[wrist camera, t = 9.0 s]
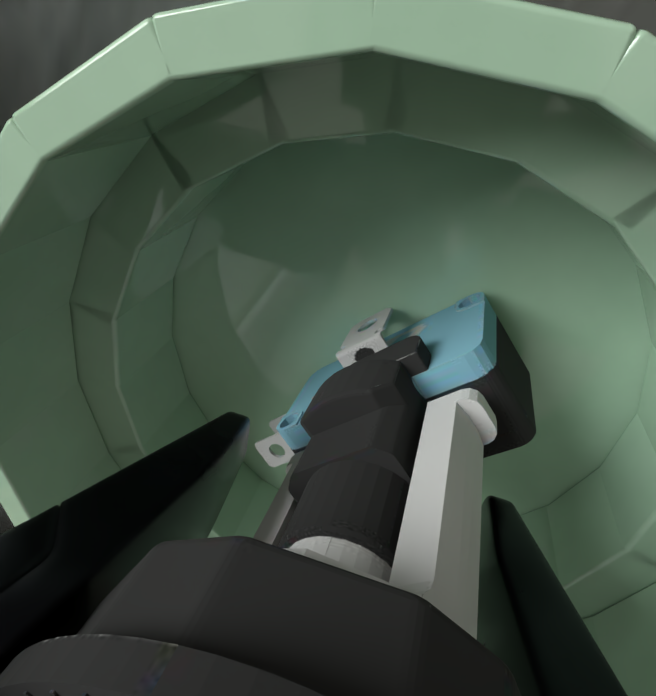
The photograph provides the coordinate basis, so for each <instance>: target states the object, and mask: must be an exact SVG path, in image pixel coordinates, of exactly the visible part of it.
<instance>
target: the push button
mask: <svg viewBox="0 0 656 696" xmlns="http://www.w3.org/2000/svg"><path fill="white" fill-rule="evenodd" d="M392 313H393V309H392V308H386V309H384V310H382V311H380V312H378V313H376V314H374V315H372V316H370V317H368V318H366V319H364V320H362V321H360V322H359V323H357V324H356V325H355V326H353V327H352V328H351V330H350V331H349V333H348V335H347V336H346V338H345V340H344V341H343V343H342V345H341V347H340V349H341V350H340V351H338V352H337V353H336V357H337V359H338V360H337V361H335V362H333V363H331V364H329V365H327V366H325V367H323V368H321V369H319V370H317V371H316V372H315V373H314V374H312V375H311V376H310V378H309V379H308V380H307V382H306V383H305V385H304V387H303V388H302V390H301V391H300V393H299V395H298V396H297V398H296V399H295V401H294V402H293V404H292V406H291V407H290V409H289V410H288V412H287V414H284V415H282V416H280V417H278V418H275V419H273V420H271V421H270V423H269V426H270V427H271V429H272V430H273V431H274V433H275V434H274V435H272V436H269V437H267V438H264V439H262V440H260V441H257V442H256V443H255V448H256V449H257V451H258V452H259V453H260V454H261V456H262V457H263V458H264V460H265V461H266V462H267V463H268V465H269V466H271V467H276V466H279V465H281V464H284V463H287V462H289V463H288V465H287V467H286V471H285V472H286V477H285V479H284V481H283V483H282V485H281V486H280V488H279V490H278V492H277V494H276V496H275V498H274V500H273V501H272V503H271V505H270V507H269V509H268V511H267V513H266V515H265V516H264V518H263V520H262V522H261V524H260V526H259V528H258V530H257V531H256V533H255V535H254V537H253V538H251V537H246V536H225V537H212V538H199V539H185V540H172V541H165V542H162V543H160V544H158V545H156V546H155V547H154V548H153V549H151V550H150V551H149V553H148V554H147V555H146V556H145V557H144V558H143V559H142V560H141V561H140V562H139V563H138V564H137V565H136V566H135V567H134V568H133V569H132V570H131V571H130V572H129V573H128V574H127V575H126V576H125V578H124V579H123V580H122V581H121V582H120V583H119V584H118V585H117V586H116V587H115V588H114V589H113V590H112V591H111V592H110V593H109V594H108V595H107V596H106V597H105V598H104V599H103V600H102V602H101V603H100V604H99V605H98V607H97V608H96V609H95V611H94V612H93V613H92V615H91V616H90V617H89V618H88V620H87V621H86V622H85V624H84V625H83V626H82V628H81V629H80V630H79V632H78V633H77V634H76V635H70V636H61V637H56V638H52V639H49V640H45V641H41V642H39V643H37V644H34V645H32V646H30V647H28V648H26V649H25V650H23V651H22V652H21V653H20V654H18V655H17V656H16V657H15V658H14V659H13V660H12V661H11V663H10V664H9V665H8V666H7V667H6V669H5V670H4V671H3V672H2V673H1V675H0V696H521V694H520V691H519V689H518V686H517V684H516V681H515V678H514V676H513V674H512V673H511V671H510V670H509V668H508V666H507V665H506V664H505V663H504V662H503V661H502V660H501V659H500V658H499V657H497V656H496V655H495V654H494V653H492V652H491V651H490V650H489V649H487V648H486V647H485V646H484V645H482V644H481V643H480V642H479V641H477V617H478V589H479V561H480V533H481V505H482V477H483V458H486V457H489V456H492V455H495V454H499V453H502V452H505V451H508V450H512V449H515V448H518V447H521V446H523V445H525V444H527V443H529V442H530V441H531V440H532V439H533V438H534V436H535V434H536V424H535V415H534V406H533V397H532V389H531V380H530V373H529V371H528V369H527V367H526V366H525V364H524V362H523V360H522V359H521V357H520V355H519V354H518V352H517V350H516V348H515V347H514V345H513V343H512V341H511V340H510V338H509V336H508V334H507V333H506V331H505V329H504V327H503V326H502V324H501V322H500V320H499V319H498V317H497V315H496V314H495V312H494V310H493V308H492V307H491V305H490V303H489V301H488V300H487V298H486V296H485V294H484V293H483V292H477V293H474V294H472V295H469V296H467V297H465V298H463V299H461V300H459V301H457V302H455V304H454V305H452V306H450V307H448V308H446V309H444V310H441V311H439V312H437V313H435V314H433V315H431V316H429V317H427V318H425V319H423V320H421V321H418V322H416V323H414V324H412V325H410V326H408V327H406V328H404V329H402V330H400V331H398V332H396V333H393V334H391V335H389V336H387V337H385V338H384V337H383V334H382V333H381V332H382V331H384V330H385V328H386V326H387V324H388V321H389V319H390V317H391V315H392ZM373 322H375V323H374V324H373V325H372V326H370V327H369V328H367V329H366V330H363V331H361V330H362V329H364V328H365V327H366V326H368V325H369V324H371V323H373ZM272 444H278V445H280V446H282V447H283V449H284V450H285V454H284V455H276V454H275V453H273V452H272V450H271V448H270V446H271V445H272Z"/></svg>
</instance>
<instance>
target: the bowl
mask: <svg viewBox="0 0 656 696" xmlns="http://www.w3.org/2000/svg"><path fill="white" fill-rule="evenodd" d="M636 29H637V27H635V26H634V25H633V24H632V23H628V22H624V21H619V20H614V19H609V18H604V17H599V16H595V15H590V14H585V13H580V12H575V11H570V10H566V9H561V8H556V7H551V6H546V5H541V4H537V3H532V2H527V1H522V0H219V1H214V2H209V3H203V4H198V5H193V6H188V7H183V8H178V9H172V10H167V11H162V12H157V13H155V14H154V15H153V17H148V18H146V19H144V20H143V21H142V22H140V23H139V24H137V25H136V26H135V27H133V28H132V29H130V30H129V31H128V32H126V33H125V34H123V35H122V36H121V37H119V38H118V39H116V40H115V41H114V42H112V43H111V44H109V45H108V46H107V47H105V48H104V49H102V50H101V51H100V52H98V53H97V54H95V55H94V56H93V57H91V58H90V59H88V60H87V61H86V62H84V63H83V64H81V65H80V66H79V67H77V68H76V69H74V70H73V71H72V72H70V73H69V74H67V75H66V76H65V77H63V78H62V79H60V80H59V81H58V82H56V83H55V84H53V85H52V86H51V87H49V88H48V89H47V90H45V91H44V92H42V93H41V94H40V95H38V96H37V97H35V98H34V99H33V100H31V101H30V102H28V103H27V104H26V105H24V106H23V107H21V108H20V109H19V110H17V111H16V112H15V113H14V114H13V115H12V118H10V119H9V120H8V121H7V122H6V124H5V126H4V128H3V130H2V132H1V133H0V503H1V505H2V506H3V508H4V510H5V511H6V513H7V515H8V517H9V518H10V520H11V522H12V523H13V525H14V527H15V526H17V525H19V524H21V523H23V522H25V521H27V520H29V519H31V518H33V517H35V516H37V515H38V514H40V513H42V512H44V511H46V510H48V509H49V508H51V507H53V506H55V505H59V506H60V504H61V502H63V501H65V500H66V499H68V498H70V497H72V496H74V495H76V494H77V493H79V492H81V491H83V490H85V489H87V488H88V487H90V486H92V485H94V484H96V483H98V482H99V481H101V480H103V479H105V478H107V477H109V476H111V475H112V474H114V473H116V472H118V471H120V470H122V469H123V468H125V467H127V466H129V465H131V464H133V463H134V462H136V461H138V460H140V459H142V458H144V457H146V456H147V455H149V454H151V453H153V452H155V451H157V450H158V449H160V448H162V447H164V446H166V445H168V444H169V443H171V442H173V441H175V440H177V439H179V438H181V437H182V436H184V435H186V434H188V433H190V432H192V431H193V430H195V429H197V428H199V427H201V426H203V425H204V424H206V423H208V422H210V421H212V420H214V419H216V418H217V417H219V416H221V415H223V414H225V413H227V412H235V413H238V414H241V415H244V416H247V417H248V418H249V419H250V429H249V437H248V444H247V451H246V454H245V457H244V460H243V462H242V465H241V467H240V469H239V471H238V474H237V476H236V478H235V480H234V482H233V485H232V487H231V489H230V491H229V493H228V496H227V498H226V500H225V502H224V504H223V507H222V509H221V511H220V513H219V515H218V518H217V520H216V522H215V524H214V526H213V528H212V530H211V532H210V534H209V536H208V537H207V538H212V537H225V536H246V537H251V538H253V537H254V535H255V533H256V531H257V530H258V528H259V526H260V524H261V522H262V520H263V518H264V516H265V515H266V513H267V511H268V509H269V507H270V505H271V503H272V501H273V500H274V498H275V496H276V494H277V492H278V490H279V488H280V486H281V485H282V483H283V481H284V479H285V477H286V472H285V471H286V467H287V465H288V463H289V462H287V463H284V464H281V465H279V466H276V467H271V466H269V465H268V463H267V462H266V461H265V460H264V458H263V457H262V456H261V454H260V453H259V452H258V451H257V449H256V448H255V443H256V442H257V441H260V440H262V439H264V438H267V437H269V436H272V435H274V434H275V433H274V431H273V430H272V429H271V427H270V426H269V423H270V421H271V420H273V419H275V418H278V417H280V416H282V415H284V414H287V412H288V410H289V409H290V407H291V406H292V404H293V402H294V401H295V399H296V398H297V396H298V395H299V393H300V391H301V390H302V388H303V387H304V385H305V383H306V382H307V380H308V379H309V378H310V376H311V375H312V374H314V373H315V372H316V371H317V370H319V369H321V368H323V367H325V366H327V365H329V364H331V363H333V362H335V361H337V360H338V359H337V357H336V353H337V352H338V351H340V350H341V349H340V347H341V345H342V343H343V341H344V340H345V338H346V336H347V335H348V333H349V331H350V330H351V328H352V327H353V326H355V325H356V324H357V323H359V322H360V321H362V320H364V319H366V318H368V317H370V316H372V315H374V314H376V313H378V312H380V311H382V310H384V309H386V308H392V309H393V313H392V315H391V317H390V319H389V321H388V324H387V326H386V328H385V330H384V331H382V332H381V333H382V334H383V337H384V338H385V337H387V336H389V335H391V334H393V333H396V332H398V331H400V330H402V329H404V328H406V327H408V326H410V325H412V324H414V323H416V322H418V321H421V320H423V319H425V318H427V317H429V316H431V315H433V314H435V313H437V312H439V311H441V310H444V309H446V308H448V307H450V306H452V305H454V304H455V302H457V301H459V300H461V299H463V298H465V297H467V296H469V295H472V294H474V293H477V292H483V293H484V294H485V296H486V298H487V300H488V301H489V303H490V305H491V307H492V308H493V310H494V312H495V314H496V315H497V317H498V319H499V320H500V322H501V324H502V326H503V327H504V329H505V331H506V333H507V334H508V336H509V338H510V340H511V341H512V343H513V345H514V347H515V348H516V350H517V352H518V354H519V355H520V357H521V359H522V360H523V362H524V364H525V366H526V367H527V369H528V371H529V373H530V380H531V389H532V397H533V406H534V415H535V424H536V434H535V436H534V438H533V439H532V440H531V441H530V442H529V443H527V444H525V445H523V446H521V447H518V448H515V449H512V450H508V451H505V452H502V453H499V454H495V455H492V456H489V457H486V458H483V477H482V504H483V502H484V500H485V499H486V498H487V497H488V496H491V495H492V496H496V497H499V498H502V499H505V500H508V501H510V502H512V503H513V505H514V506H515V508H516V509H517V511H518V513H519V514H520V516H521V518H522V519H523V521H524V523H525V524H526V526H527V528H528V529H529V531H530V533H531V534H532V536H533V538H534V539H535V541H536V543H537V544H538V546H539V548H540V549H541V551H542V553H543V554H544V556H545V558H546V559H547V561H548V563H549V564H550V566H551V568H552V570H553V571H554V573H555V575H556V576H557V578H558V580H559V581H560V583H561V585H562V586H563V588H564V590H565V591H566V593H567V595H568V596H569V598H570V600H571V601H572V603H573V605H574V606H575V608H576V610H577V611H578V613H579V615H580V616H581V618H582V620H583V621H584V623H585V625H586V627H587V628H588V630H589V632H590V633H591V635H592V637H593V638H594V640H595V642H596V643H597V645H598V647H599V648H600V650H601V652H602V653H603V655H604V657H605V658H606V660H607V662H608V663H609V665H610V667H611V668H612V670H613V672H614V673H615V675H616V677H617V678H618V680H619V682H620V684H621V685H622V687H623V689H624V690H625V692H626V694H627V695H628V696H656V36H655V35H654V34H653V33H651V32H650V31H648V30H642V29H639V30H636ZM374 323H375V322H373V323H371V324H369V325H368V326H366V327H365V328H364V329H362V330H361V331H363V330H366V329H367V328H369V327H370V326H372V325H373V324H374ZM270 448H271V450H272V452H273V453H275V454H276V455H284V454H285V450H284V449H283V447H282V446H280V445H278V444H272V445H271V446H270ZM481 506H482V505H481Z"/></svg>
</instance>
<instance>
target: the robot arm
mask: <svg viewBox="0 0 656 696" xmlns="http://www.w3.org/2000/svg"><path fill="white" fill-rule="evenodd" d="M249 429H250V419H249V418H248V417H247V416H244V415H241V414H238V413H235V412H227V413H225V414H223V415H221V416H219V417H217V418H216V419H214V420H212V421H210V422H208V423H206V424H204V425H203V426H201V427H199V428H197V429H195V430H193V431H192V432H190V433H188V434H186V435H184V436H182V437H181V438H179V439H177V440H175V441H173V442H171V443H169V444H168V445H166V446H164V447H162V448H160V449H158V450H157V451H155V452H153V453H151V454H149V455H147V456H146V457H144V458H142V459H140V460H138V461H136V462H134V463H133V464H131V465H129V466H127V467H125V468H123V469H122V470H120V471H118V472H116V473H114V474H112V475H111V476H109V477H107V478H105V479H103V480H101V481H99V482H98V483H96V484H94V485H92V486H90V487H88V488H87V489H85V490H83V491H81V492H79V493H77V494H76V495H74V496H72V497H70V498H68V499H66V500H65V501H63V502H61V504H60V506H59V505H55V506H53V507H51V508H49V509H48V510H46V511H44V512H42V513H40V514H38V515H37V516H35V517H33V518H31V519H29V520H27V521H25V522H23V523H21V524H19V525H17V526H15V527H13V528H11V529H9V530H8V531H6V532H4V533H2V534H0V675H1V673H2V672H3V671H4V670H5V669H6V667H7V666H8V665H9V664H10V663H11V661H12V660H13V659H14V658H15V657H16V656H17V655H18V654H20V653H21V652H22V651H23V650H25V649H26V648H28V647H30V646H32V645H34V644H37V643H39V642H41V641H45V640H49V639H52V638H56V637H61V636H70V635H76V634H77V633H78V632H79V630H80V629H81V628H82V626H83V625H84V624H85V622H86V621H87V620H88V618H89V617H90V616H91V615H92V613H93V612H94V611H95V609H96V608H97V607H98V605H99V604H100V603H101V602H102V600H103V599H104V598H105V597H106V596H107V595H108V594H109V593H110V592H111V591H112V590H113V589H114V588H115V587H116V586H117V585H118V584H119V583H120V582H121V581H122V580H123V579H124V578H125V576H126V575H127V574H128V573H129V572H130V571H131V570H132V569H133V568H134V567H135V566H136V565H137V564H138V563H139V562H140V561H141V560H142V559H143V558H144V557H145V556H146V555H147V554H148V553H149V551H150V550H151V549H153V548H154V547H155V546H156V545H158V544H160V543H162V542H165V541H172V540H185V539H199V538H207V537H208V536H209V534H210V532H211V530H212V528H213V526H214V524H215V522H216V520H217V518H218V515H219V513H220V511H221V509H222V507H223V504H224V502H225V500H226V498H227V496H228V493H229V491H230V489H231V487H232V485H233V482H234V480H235V478H236V476H237V474H238V471H239V469H240V467H241V465H242V462H243V460H244V457H245V454H246V451H247V444H248V437H249ZM477 641H479V642H480V643H481V644H482V645H484V646H485V647H486V648H487V649H489V650H490V651H491V652H492V653H494V654H495V655H496V656H497V657H499V658H500V659H501V660H502V661H503V662H504V663H505V664H506V665H507V666H508V668H509V670H510V671H511V673H512V674H513V676H514V678H515V681H516V684H517V686H518V689H519V691H520V694H521V696H628V695H627V694H626V692H625V690H624V689H623V687H622V685H621V684H620V682H619V680H618V678H617V677H616V675H615V673H614V672H613V670H612V668H611V667H610V665H609V663H608V662H607V660H606V658H605V657H604V655H603V653H602V652H601V650H600V648H599V647H598V645H597V643H596V642H595V640H594V638H593V637H592V635H591V633H590V632H589V630H588V628H587V627H586V625H585V623H584V621H583V620H582V618H581V616H580V615H579V613H578V611H577V610H576V608H575V606H574V605H573V603H572V601H571V600H570V598H569V596H568V595H567V593H566V591H565V590H564V588H563V586H562V585H561V583H560V581H559V580H558V578H557V576H556V575H555V573H554V571H553V570H552V568H551V566H550V564H549V563H548V561H547V559H546V558H545V556H544V554H543V553H542V551H541V549H540V548H539V546H538V544H537V543H536V541H535V539H534V538H533V536H532V534H531V533H530V531H529V529H528V528H527V526H526V524H525V523H524V521H523V519H522V518H521V516H520V514H519V513H518V511H517V509H516V508H515V506H514V505H513V503H512V502H510V501H508V500H505V499H502V498H499V497H496V496H492V495H491V496H488V497H487V498H486V499H485V500H484V502H483V504H482V506H481V533H480V561H479V589H478V617H477Z"/></svg>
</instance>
